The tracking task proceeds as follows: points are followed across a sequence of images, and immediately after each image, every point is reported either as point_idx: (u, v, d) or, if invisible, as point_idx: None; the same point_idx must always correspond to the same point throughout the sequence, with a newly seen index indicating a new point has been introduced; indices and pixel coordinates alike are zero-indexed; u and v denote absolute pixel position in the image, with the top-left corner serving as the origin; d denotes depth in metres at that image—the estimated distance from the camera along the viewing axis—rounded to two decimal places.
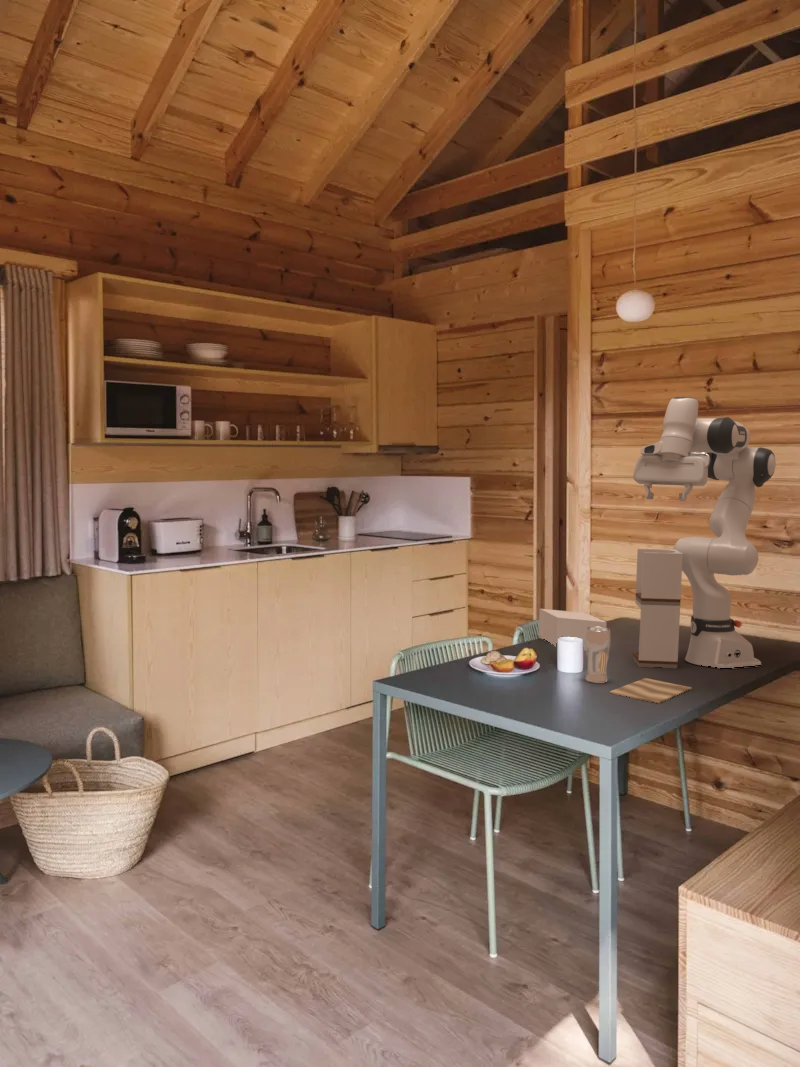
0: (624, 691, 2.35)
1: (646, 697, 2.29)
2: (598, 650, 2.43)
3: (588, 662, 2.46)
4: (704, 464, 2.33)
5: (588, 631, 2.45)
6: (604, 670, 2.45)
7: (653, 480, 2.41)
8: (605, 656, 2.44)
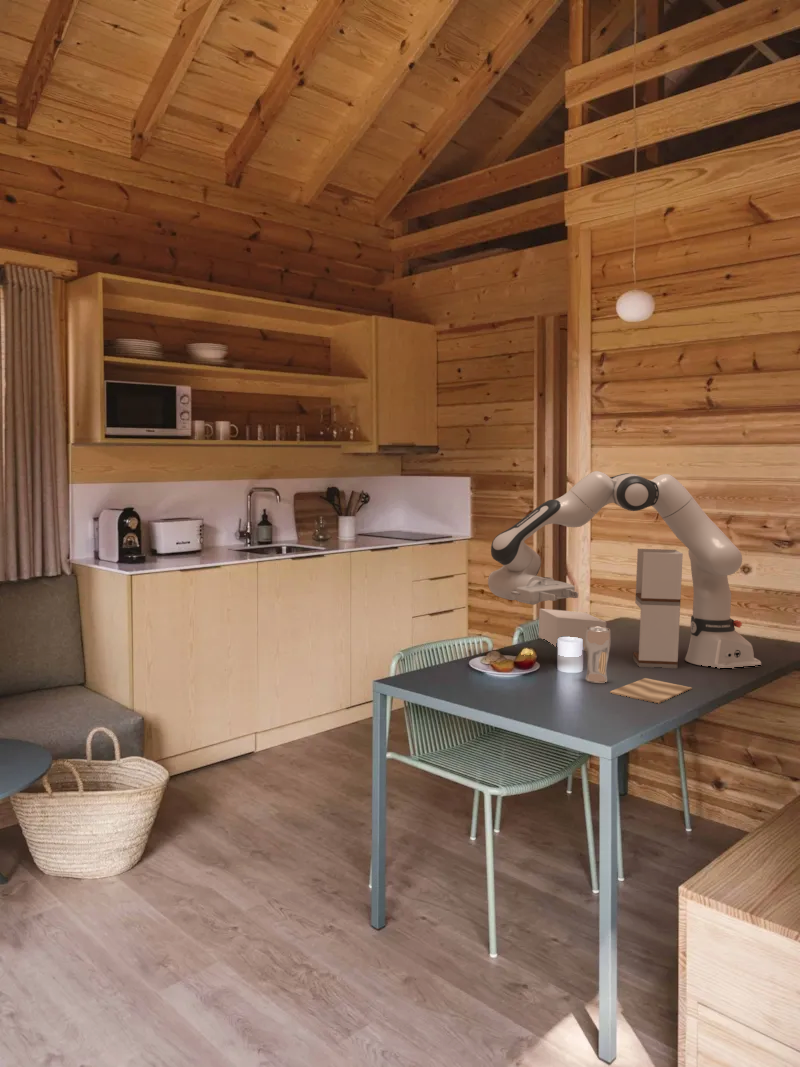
0: (624, 691, 2.35)
1: (646, 697, 2.29)
2: (598, 650, 2.43)
3: (588, 662, 2.46)
4: (518, 598, 2.56)
5: (588, 631, 2.45)
6: (604, 670, 2.45)
7: (561, 598, 2.61)
8: (605, 656, 2.44)
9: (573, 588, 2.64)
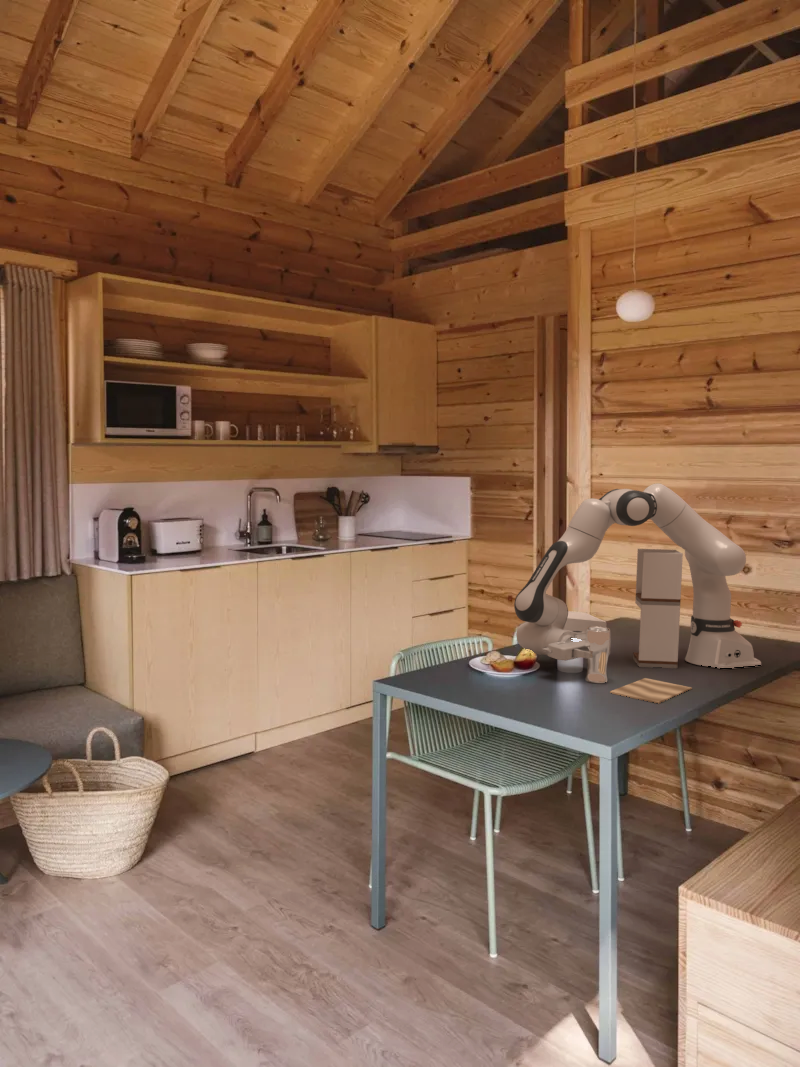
0: (624, 691, 2.35)
1: (646, 697, 2.29)
2: (598, 650, 2.43)
3: (588, 662, 2.46)
4: (550, 655, 2.48)
5: (588, 631, 2.45)
6: (604, 670, 2.45)
7: None
8: (605, 656, 2.44)
9: None
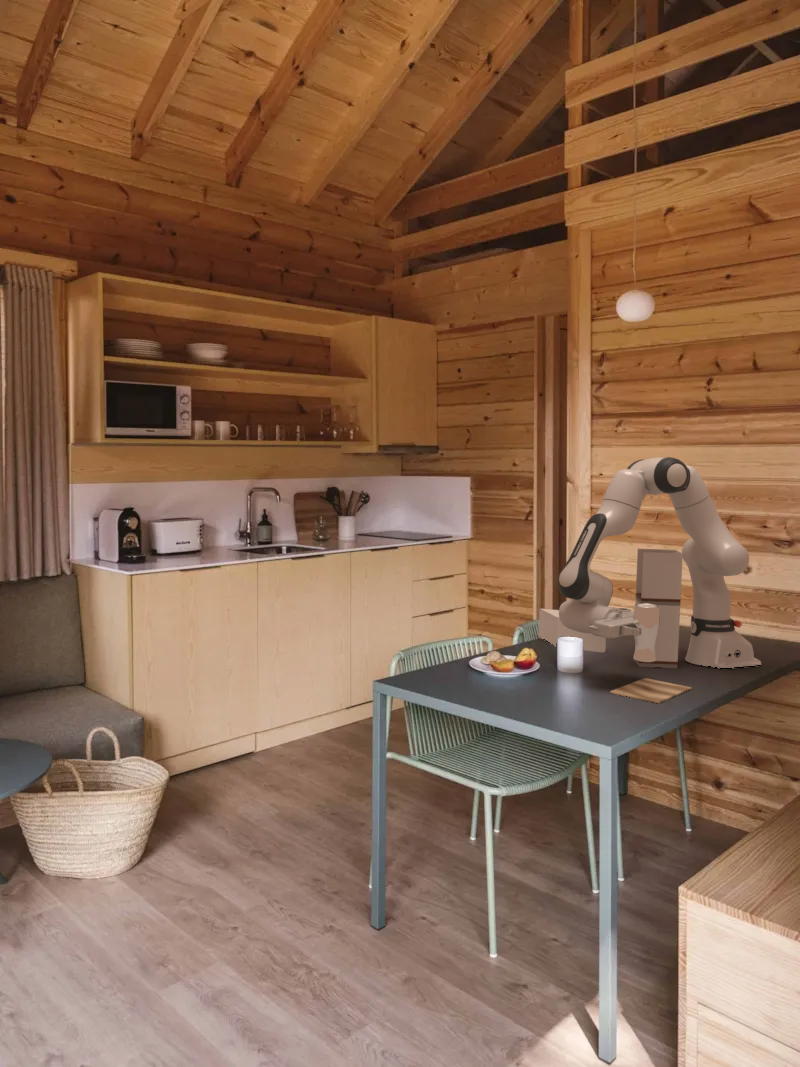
0: (624, 691, 2.35)
1: (646, 697, 2.29)
2: (647, 627, 2.34)
3: (636, 640, 2.37)
4: (596, 633, 2.39)
5: (636, 608, 2.36)
6: (653, 648, 2.36)
7: None
8: (654, 634, 2.35)
9: None
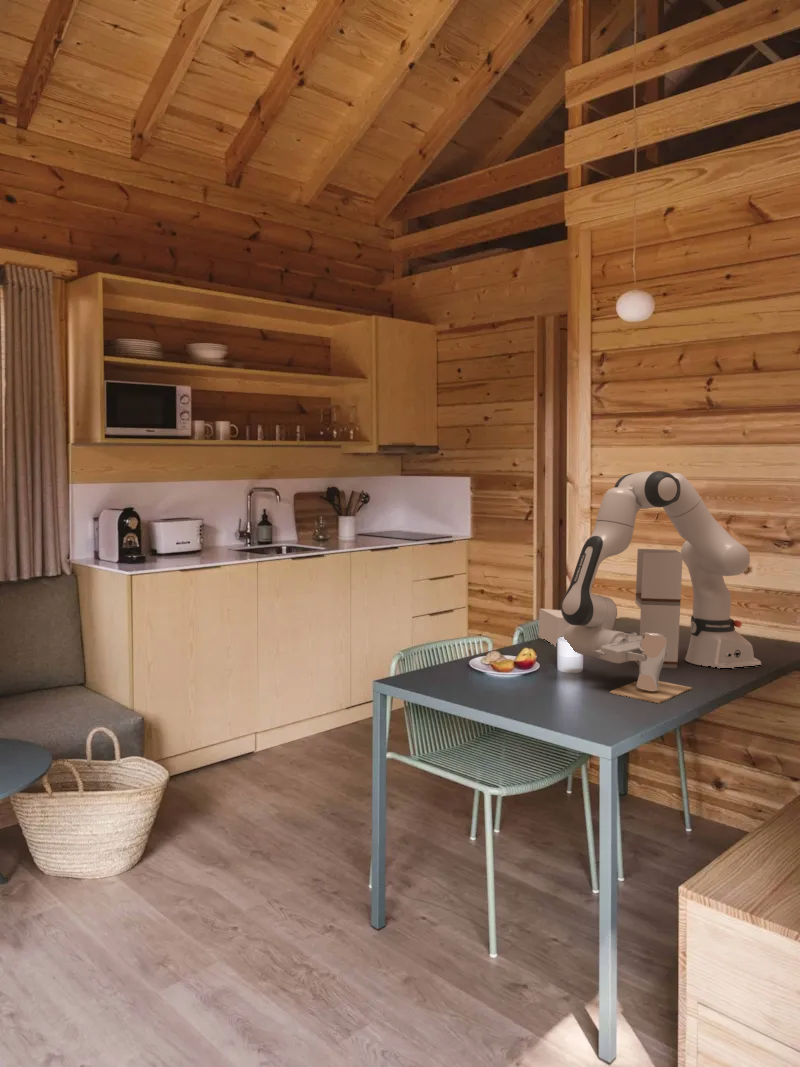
0: (624, 691, 2.35)
1: (646, 697, 2.29)
2: (653, 655, 2.33)
3: (641, 668, 2.35)
4: (603, 657, 2.38)
5: (644, 635, 2.35)
6: (657, 678, 2.34)
7: None
8: (660, 663, 2.33)
9: None
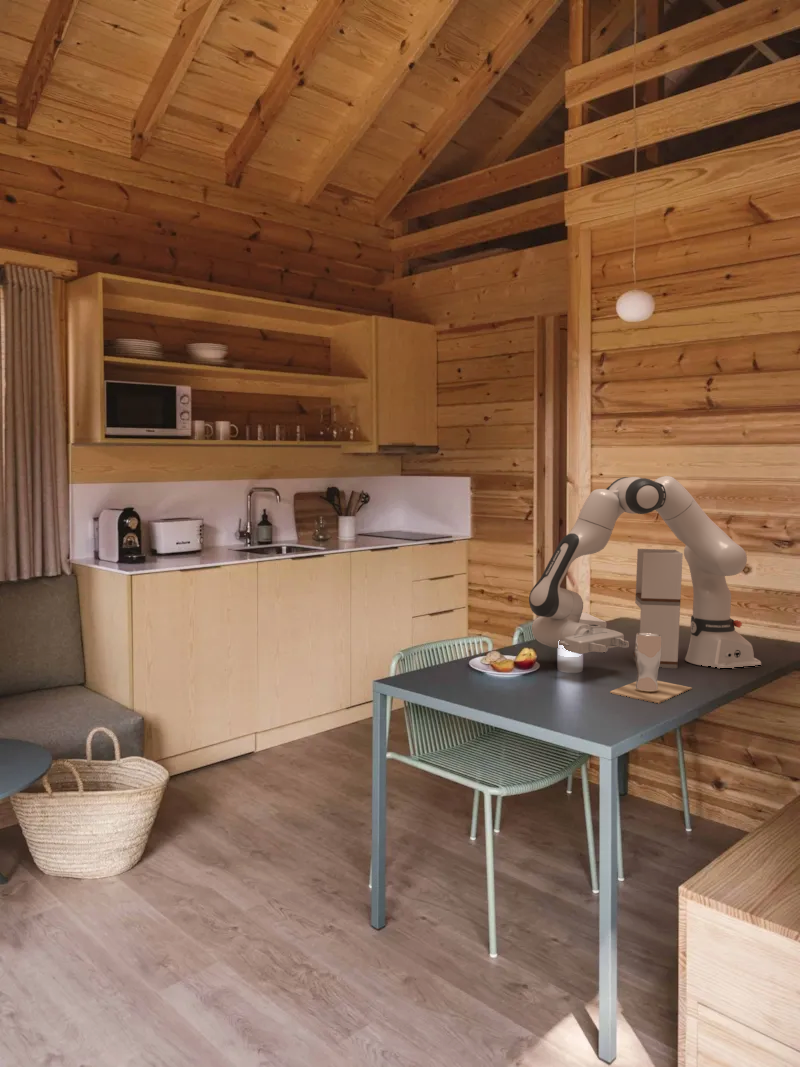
0: (624, 691, 2.35)
1: (646, 697, 2.29)
2: (649, 656, 2.33)
3: (638, 669, 2.35)
4: (566, 648, 2.48)
5: (638, 636, 2.35)
6: (655, 678, 2.34)
7: (610, 647, 2.52)
8: (656, 662, 2.33)
9: (622, 636, 2.55)
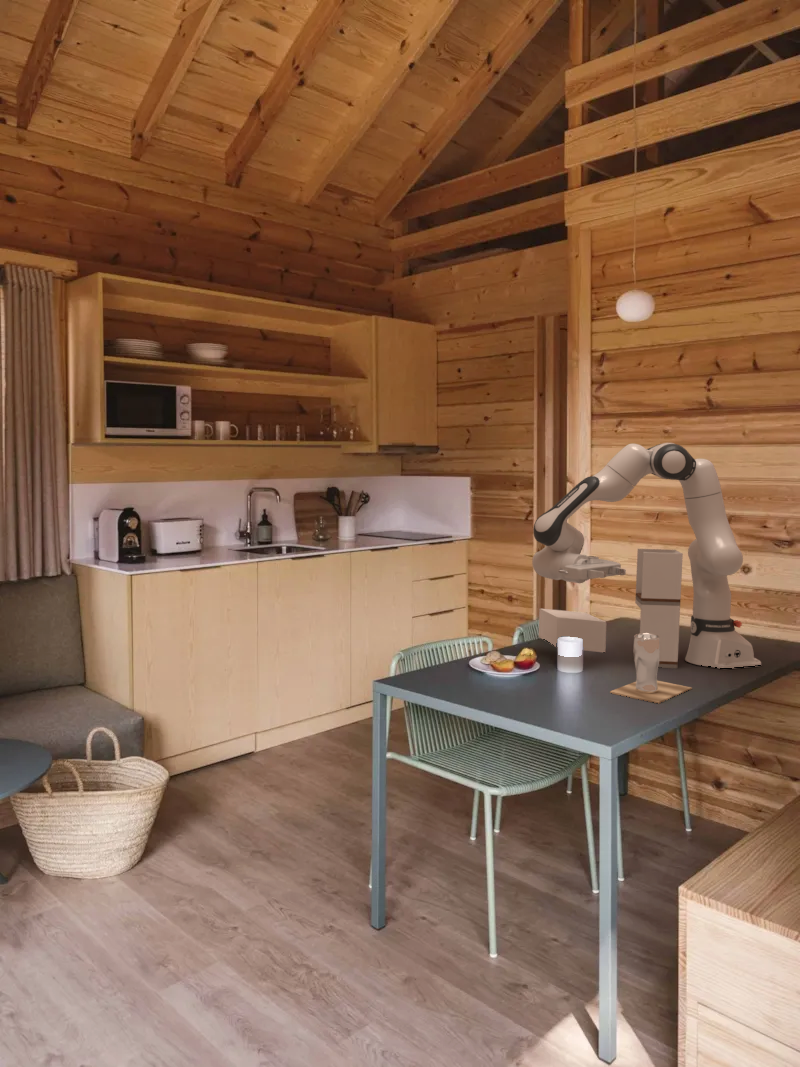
0: (624, 691, 2.35)
1: (646, 697, 2.29)
2: (648, 659, 2.32)
3: (637, 671, 2.34)
4: (566, 576, 2.57)
5: (636, 639, 2.33)
6: (655, 679, 2.34)
7: None
8: (656, 664, 2.32)
9: (619, 566, 2.65)
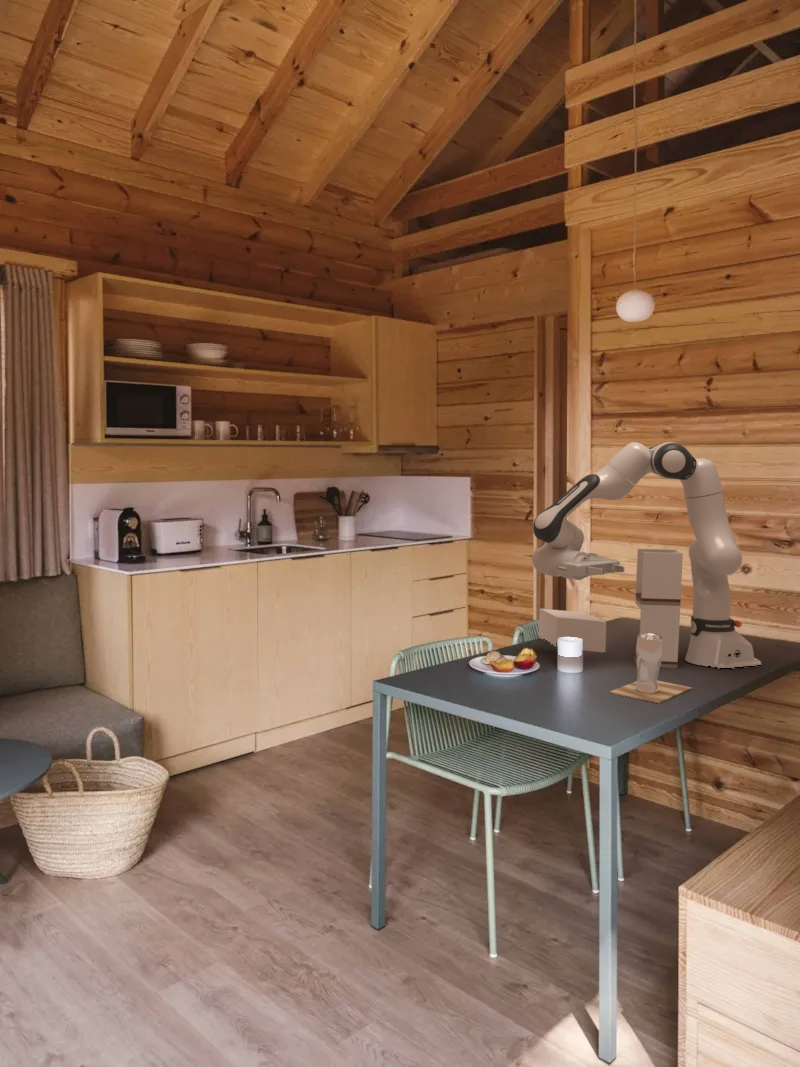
0: (624, 691, 2.35)
1: (646, 697, 2.29)
2: (650, 659, 2.31)
3: (639, 671, 2.34)
4: (565, 572, 2.59)
5: (640, 639, 2.33)
6: (655, 679, 2.34)
7: None
8: (657, 665, 2.32)
9: (618, 563, 2.66)
